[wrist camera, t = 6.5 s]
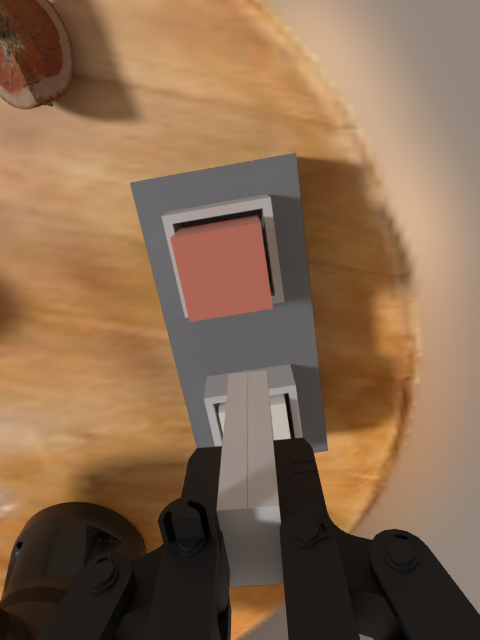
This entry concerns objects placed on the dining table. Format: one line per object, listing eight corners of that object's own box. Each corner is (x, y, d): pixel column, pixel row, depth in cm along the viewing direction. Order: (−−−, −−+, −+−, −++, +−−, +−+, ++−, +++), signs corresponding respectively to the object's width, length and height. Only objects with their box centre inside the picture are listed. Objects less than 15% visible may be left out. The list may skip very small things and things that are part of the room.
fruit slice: (101, 99, 31) (76, 86, 26) (26, 131, 32) (-11, 124, 27) (47, -26, 28) (8, -66, 23) (-34, 12, 29) (-87, -18, 24)
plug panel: (317, 419, 41) (336, 478, 33) (206, 435, 42) (198, 496, 34) (287, 155, 32) (303, 150, 24) (145, 181, 33) (115, 184, 25)
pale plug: (287, 427, 35) (293, 457, 32) (230, 435, 36) (230, 466, 32) (280, 377, 34) (285, 403, 30) (220, 386, 34) (218, 412, 30)
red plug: (268, 290, 28) (272, 308, 24) (196, 301, 28) (189, 321, 24) (257, 215, 26) (260, 222, 22) (180, 228, 26) (170, 238, 22)
